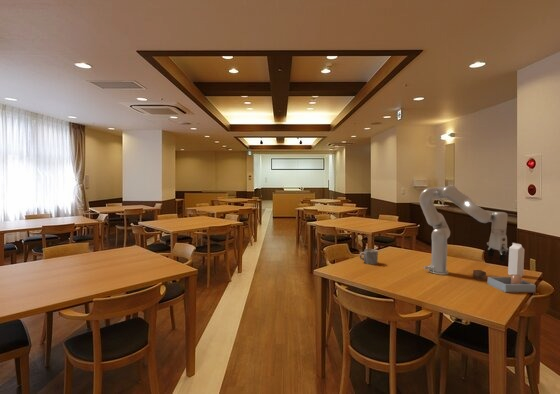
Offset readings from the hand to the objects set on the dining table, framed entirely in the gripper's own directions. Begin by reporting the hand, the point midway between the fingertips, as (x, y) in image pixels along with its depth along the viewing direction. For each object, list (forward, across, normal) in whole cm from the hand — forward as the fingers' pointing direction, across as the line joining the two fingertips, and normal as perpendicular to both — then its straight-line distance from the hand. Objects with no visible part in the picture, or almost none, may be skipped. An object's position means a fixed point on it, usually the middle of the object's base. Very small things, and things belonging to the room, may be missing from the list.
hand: (496, 258), depth 189 cm
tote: (+15, -10, -3) cm, 18 cm away
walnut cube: (+16, +8, +4) cm, 18 cm away
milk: (+15, +15, -26) cm, 34 cm away
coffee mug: (+18, +44, +67) cm, 82 cm away
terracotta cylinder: (+14, -10, -6) cm, 19 cm away
